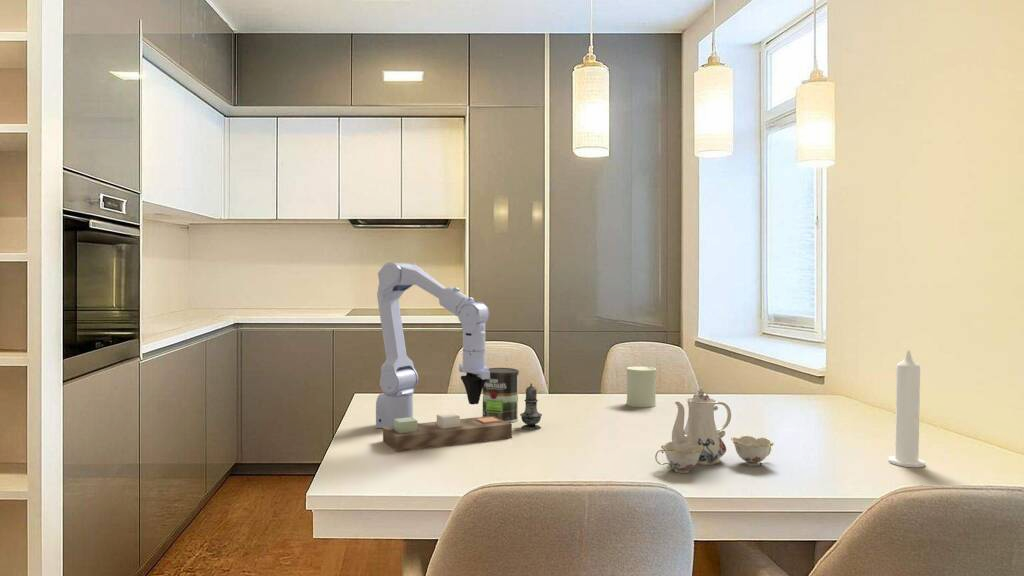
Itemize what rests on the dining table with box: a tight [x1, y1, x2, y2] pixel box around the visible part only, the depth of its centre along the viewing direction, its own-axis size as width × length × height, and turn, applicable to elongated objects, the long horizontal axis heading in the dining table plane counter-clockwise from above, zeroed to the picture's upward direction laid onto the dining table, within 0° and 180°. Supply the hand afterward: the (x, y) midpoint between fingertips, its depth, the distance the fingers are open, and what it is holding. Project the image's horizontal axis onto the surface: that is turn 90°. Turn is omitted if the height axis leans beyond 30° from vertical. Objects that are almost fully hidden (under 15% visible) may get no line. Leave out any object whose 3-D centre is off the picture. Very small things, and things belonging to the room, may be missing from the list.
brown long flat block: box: [382, 416, 513, 453], centre depth 173 cm, size 30×11×4 cm, turn 117°
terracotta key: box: [477, 417, 500, 424], centre depth 178 cm, size 4×4×3 cm
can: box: [625, 365, 657, 409], centre depth 218 cm, size 9×9×12 cm
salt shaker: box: [519, 383, 543, 431], centre depth 186 cm, size 6×6×12 cm
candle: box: [887, 349, 926, 469], centre depth 152 cm, size 7×7×25 cm
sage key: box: [394, 417, 418, 433], centre depth 167 cm, size 4×4×3 cm
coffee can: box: [482, 367, 520, 424], centre depth 196 cm, size 10×10×14 cm
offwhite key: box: [436, 412, 461, 429], centre depth 173 cm, size 4×4×3 cm
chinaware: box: [654, 387, 775, 474], centre depth 152 cm, size 28×17×17 cm, turn 113°
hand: (473, 403), depth 176 cm, fingers closed
